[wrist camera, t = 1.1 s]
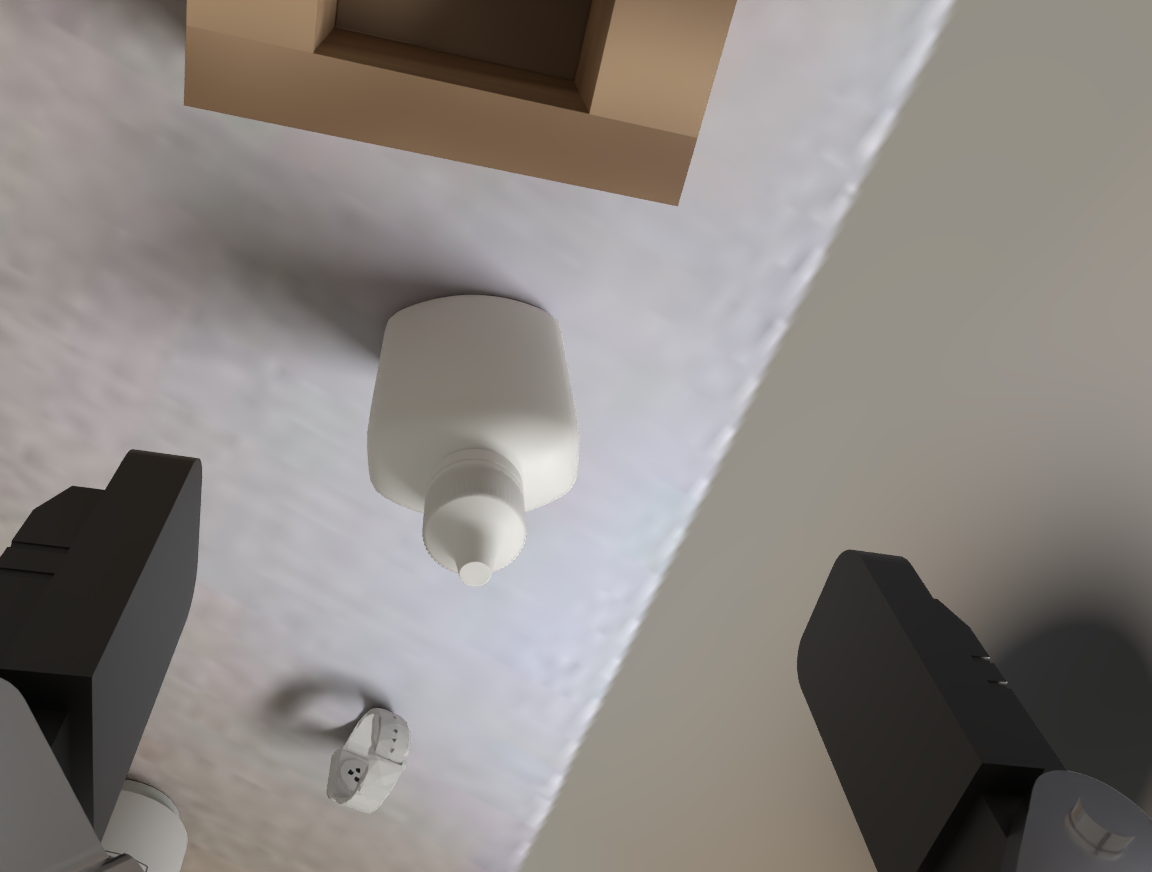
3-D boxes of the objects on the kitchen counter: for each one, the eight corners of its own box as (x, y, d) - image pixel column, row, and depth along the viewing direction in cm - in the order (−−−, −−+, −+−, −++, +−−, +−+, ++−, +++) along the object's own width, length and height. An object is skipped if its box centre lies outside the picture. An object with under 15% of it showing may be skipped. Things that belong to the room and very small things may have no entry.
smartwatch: (377, 683, 39) (367, 764, 35) (423, 703, 40) (417, 784, 36) (332, 736, 40) (318, 818, 37) (377, 754, 41) (368, 837, 38)
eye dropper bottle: (514, 427, 33) (534, 680, 23) (365, 355, 31) (313, 596, 21) (581, 326, 31) (634, 551, 21) (428, 244, 30) (405, 448, 19)
